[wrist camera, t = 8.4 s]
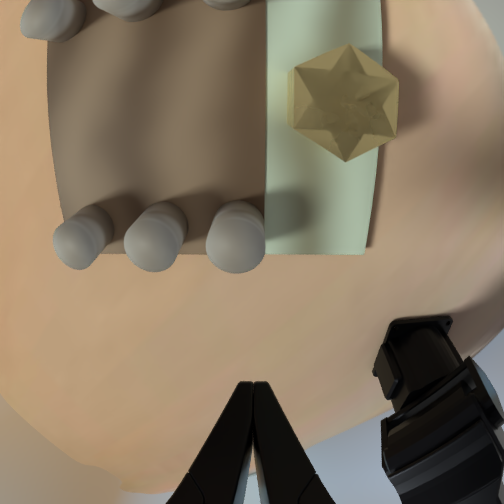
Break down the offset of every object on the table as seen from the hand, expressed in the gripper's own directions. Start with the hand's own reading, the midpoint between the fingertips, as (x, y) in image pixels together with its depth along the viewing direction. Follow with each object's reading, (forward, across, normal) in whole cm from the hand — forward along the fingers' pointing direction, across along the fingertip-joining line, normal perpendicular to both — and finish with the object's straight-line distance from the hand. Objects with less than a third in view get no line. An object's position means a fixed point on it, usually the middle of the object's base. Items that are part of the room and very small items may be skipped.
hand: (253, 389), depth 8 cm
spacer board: (+12, +3, -8) cm, 14 cm away
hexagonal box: (+11, -4, -8) cm, 14 cm away
